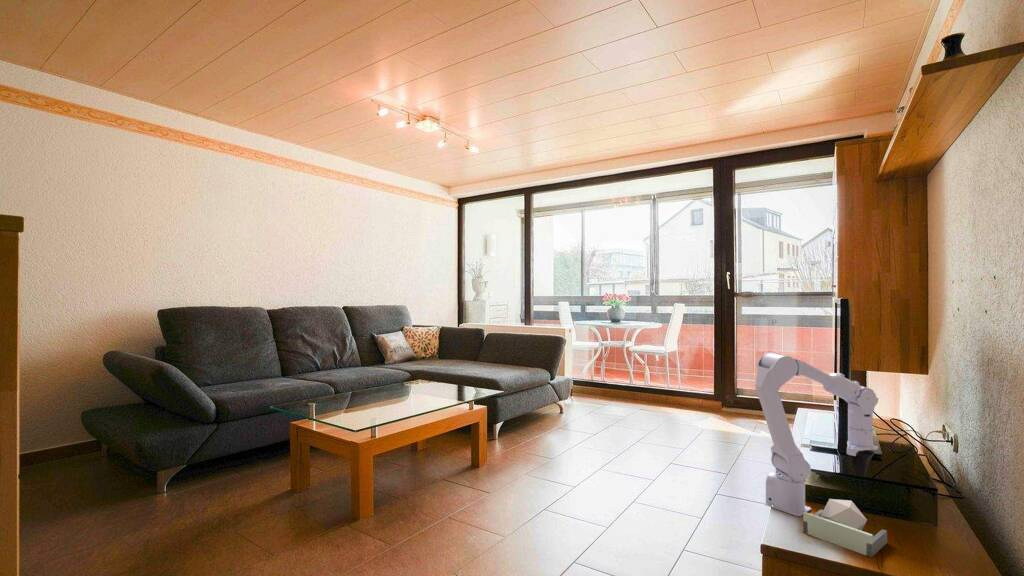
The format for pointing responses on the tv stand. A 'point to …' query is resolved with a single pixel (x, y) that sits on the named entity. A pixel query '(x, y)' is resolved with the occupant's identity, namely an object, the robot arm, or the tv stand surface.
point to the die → (844, 513)
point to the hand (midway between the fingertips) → (860, 475)
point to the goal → (843, 534)
